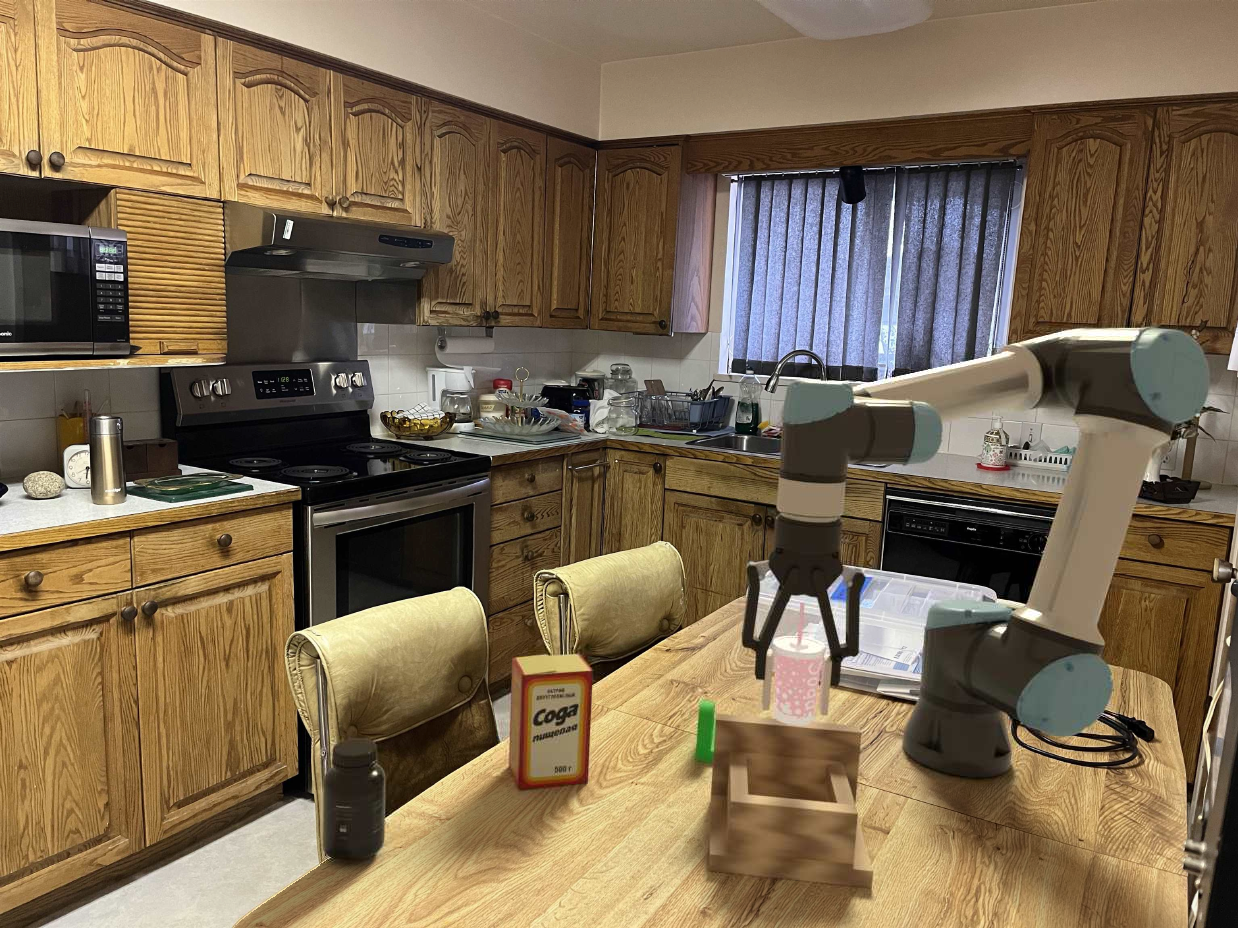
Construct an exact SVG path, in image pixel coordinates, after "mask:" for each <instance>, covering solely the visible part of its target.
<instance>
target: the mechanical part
mask: <svg viewBox="0 0 1238 928" xmlns="http://www.w3.org/2000/svg"><path fill="white" fill-rule="evenodd" d="M715 707H716V702H715V701H706V700H700V703H699V707H698V708H699V709H698V717H697V733H696V747H695V749H696V750H695V761H701V762H708V763H713V753H714V737H715V722H716V717H715V711H716V710H715V709H716V708H715Z"/></svg>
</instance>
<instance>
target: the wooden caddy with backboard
mask: <svg viewBox="0 0 1238 928" xmlns="http://www.w3.org/2000/svg"><path fill="white" fill-rule="evenodd" d="M715 718H716V722H715V737H714V753H713V762H712V767H711V768H712V771H711V773H712V774H711V785H710V786H711V787H710V799H709V800H710V802H709V804H710V805H709V807H710V810H709V840H708V841H709V845H708V871H709V872H717V873H727V874H735V875H745V876H756V877H764V878H772V879H773V878H774V879H783V880H790V881H791V880H793V881H801V882H812V883H818V884H819V883H822V884H831V885H839V886H840V885H841V886H850V887H858V888H867V889H872V887H873V877H874V869H873V866H872V862H871V859H870V855H869V852H868V850H867V845H866V842H865V837H864V833H863V831H862V828H861V824H860V821H859V816H858V815H859V812H858V809H857V807H856V801H857V790H858V777H859V767H860V754H861V743H862V742H861V741H862V730H861V727H860V725H851V724H842V723H841V724H840V723H831V722H830V723H828V722H817V721H813V722H812V723H811V724H808V725H799V726H797V725H789V724H786V723H782V722H780V721H778V720H777V719H776V718H771V717H761V716H760V717H758V716H751V715H750V716H748V715H737V714H726V713H717V712H716V714H715Z"/></svg>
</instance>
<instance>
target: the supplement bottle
mask: <svg viewBox="0 0 1238 928" xmlns="http://www.w3.org/2000/svg"><path fill="white" fill-rule="evenodd" d="M377 748H378V747H377V744H376V743H375V741H373V740H370V739H368V738H367V739H366V738H361V737H360V738H358V737H357V738H348V739H344V740H342V741H340V742H337V743H336V744H335V745H334V746H332V752H331V754H332V755H331V756H332V758H331V767H329V769H328V770H327V771H326V773H325V774H324V776H323V779H322V829H321V830H322V832H321V833H322V836H321V837H322V849H323V852H324V853H325V855H326V856H327V857H329V858H330V859H333V860H334V861H338V862H345V863H346V862H357V861H362V860H366V859H369V858H370V857H372V856H374V855H376V854H377V853H378V852H379V851H380V850H381V848H383V846H384V843H385V838H386V835H385V833H386V774H385V770H384V768H382V766H381V765H380V764H378V763H377V762H378V752H377V750H378V749H377Z"/></svg>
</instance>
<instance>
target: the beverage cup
mask: <svg viewBox="0 0 1238 928" xmlns="http://www.w3.org/2000/svg"><path fill="white" fill-rule="evenodd" d="M799 604H800V605H799V616H798V628H797V629H798V630H797V635H784V636H778V637H776V638H773V639H772V651H773V652H774V689H773V690H774V691H773V692H774V694H773V695H774V700H773V701H774V705H773V707H774V708H773V709H774V710H773V717H774V719H777V720H778V721H780V722H782V723H786V724H789V725H797V726H799V725H808V724H811V723H812V722H814V718H815V711H816V704H817V697H818V691H819V684H820V678H821V671H822V658H823V656H824V655H825V654H826V650H827V648H826V644H824V643H823V642H822V641H820V640H817V639H815V638H810V637H806V636H803V628H804V625H803V624H804V615H805V614H804V613H805V602H804V601H800V603H799Z"/></svg>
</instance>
